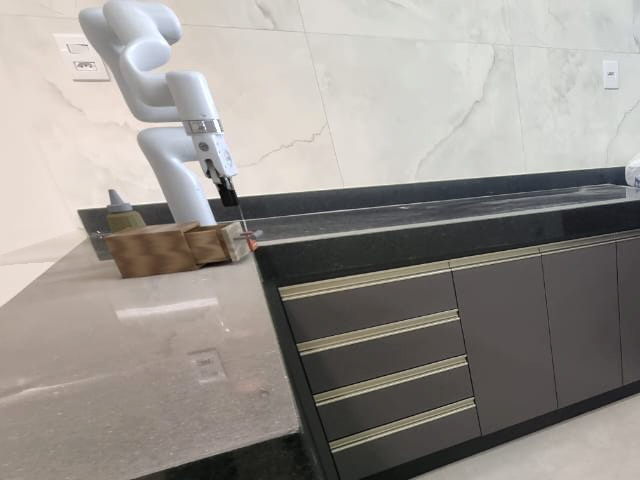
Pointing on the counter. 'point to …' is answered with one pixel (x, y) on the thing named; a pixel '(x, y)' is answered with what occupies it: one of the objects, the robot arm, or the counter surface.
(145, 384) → the counter surface
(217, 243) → the drawer
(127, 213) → the squeeze bottle
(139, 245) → the cabinet
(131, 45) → the robot arm
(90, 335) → the counter surface
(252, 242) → the block
